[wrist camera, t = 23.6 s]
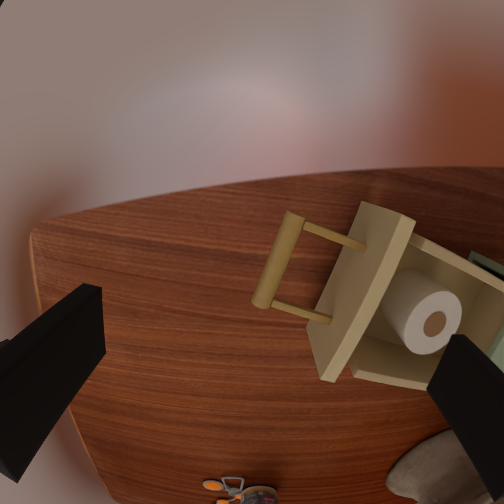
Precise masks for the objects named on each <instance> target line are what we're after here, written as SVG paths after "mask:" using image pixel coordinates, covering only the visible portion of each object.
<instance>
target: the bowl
mask: <svg viewBox="0 0 504 504" xmlns="http://www.w3.org/2000/svg"><path fill="white" fill-rule="evenodd" d="M385 483H386V485H387V488H388V489H389V490H390V491H392V492H393V493H394V494H397V495H400V496H404V497H410V498H413V499H415V500H416V501H418V503H419V504H504V498H502V499H500V500H498V501H496V502H494V501H493V500H492V498H491V496H490V494H489V492H488V490H487V488H486V486H485V485H484V483H483V481H482V479H481V477H480V476H479V474H478V472H477V470H476V469H475V467H474V465H473V463H472V462H471V460H470V458H469V457H468V455H467V453H466V451H465V450H464V448H463V446H462V445H461V443H460V441H459V440H458V438H457V437H456V435H455V433H454V432H453V430H452V429H449V430H446V431H444V432H441V433H439V434H437V435H435V436H433V437H431V438H429V439H427V440H425V441H423V442H422V443H420V444H419V445H417V446H416V447H414V448H413V449H412V450H410V451H409V452H408V453H407V454H406V455H404V456H403V457H402V458H401V459H400V460H399V461H398V462H397V463H396V464H395V465H394V467H393V468H392V469H391V470H390V472H389V473H388V475H387V477H386V482H385Z"/></svg>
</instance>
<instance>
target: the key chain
mask: <svg viewBox="0 0 504 504" xmlns="http://www.w3.org/2000/svg"><path fill="white" fill-rule="evenodd" d="M228 478H233V479H241V480H242V482H241V487H240V489H238V488H230V489H229V486H227V485H226V484H225V482H224V479H228ZM222 481H223V483H224V484H222V483H221V482H219V481H215V480H206V481H204V482H203V486H204V487H205V488H207V489H210V490H221V489H223V488H224V486H225V489H226V491H230V492H229V495H230V496H235V498H234V499H231V500H217V503H216V504H229V501H233V500H235V499H236V498H237V499H241V493H242V492H243V491H242V489H243V485H244V478H241V477H222ZM226 486H227V487H228V488H227V487H226ZM225 489H223V490H225ZM240 492H241V493H240ZM230 493H232V494H234V495H232V494H230Z"/></svg>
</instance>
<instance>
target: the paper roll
mask: <svg viewBox="0 0 504 504" xmlns="http://www.w3.org/2000/svg"><path fill="white" fill-rule="evenodd" d="M380 307H381V312H382V314H383V316H384V317H385V319H386V320H387V321H388V323H389V324H390V325H391V326H392V328H393V329H394V330H395V332H396V333H397V334H398V336H399V337H400V338H401V339H402V341H403V342H404V343H405V345H406V346H407V347H408V349H409V350H411V351H412V352H414V353H416V354H421V355H424V354H430V353H433V352H435V351H437V350H439V349H440V348H442V347H443V346H444V345H446V344H447V343H448V342H449V340H450V337H451V335H452V334H455V333H456V331H457V329H458V327H459V324H460V321H461V316H462V307H461V303H460V301H459V299H458V297H457V296H456V295H455V294H454V293H452V292H451V291H450V290H448V289H447V288H445V287H444V286H443V285H441V284H440V283H438V282H437V281H436V280H434V279H433V278H431V277H430V276H428V275H427V274H426V273H424V272H423V271H421V270H418V269H406V270H403V271H401V272H399V273H397V274H396V275H395V276H393V277H392V279H391V281H390V283H389V285H388V287H387V289H386V291H385V293H384V295H383V297H382V299H381V301H380Z"/></svg>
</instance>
